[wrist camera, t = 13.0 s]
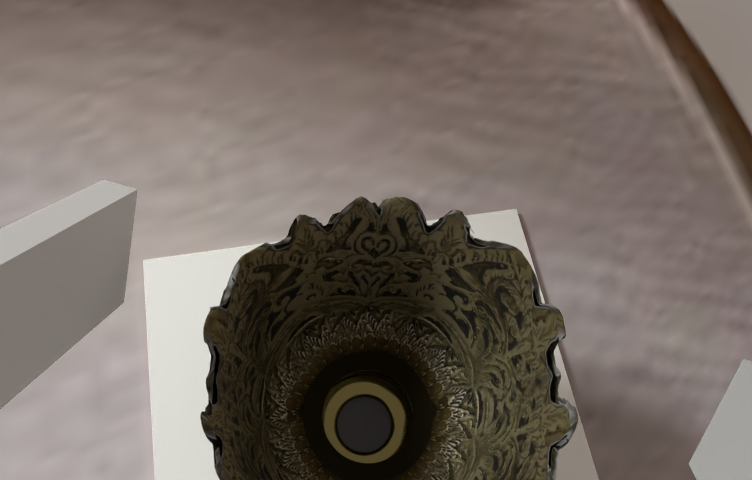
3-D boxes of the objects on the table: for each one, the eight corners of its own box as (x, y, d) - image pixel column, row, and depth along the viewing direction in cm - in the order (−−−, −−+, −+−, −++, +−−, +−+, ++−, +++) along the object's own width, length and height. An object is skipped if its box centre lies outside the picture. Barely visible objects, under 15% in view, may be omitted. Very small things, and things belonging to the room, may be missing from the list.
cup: (253, 302, 21) (220, 182, 14) (477, 312, 22) (558, 200, 14) (227, 558, 18) (168, 575, 11) (489, 562, 19) (600, 581, 11)
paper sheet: (145, 263, 22) (142, 259, 22) (513, 212, 24) (516, 207, 23) (170, 727, 17) (167, 731, 16) (635, 614, 19) (641, 615, 18)
